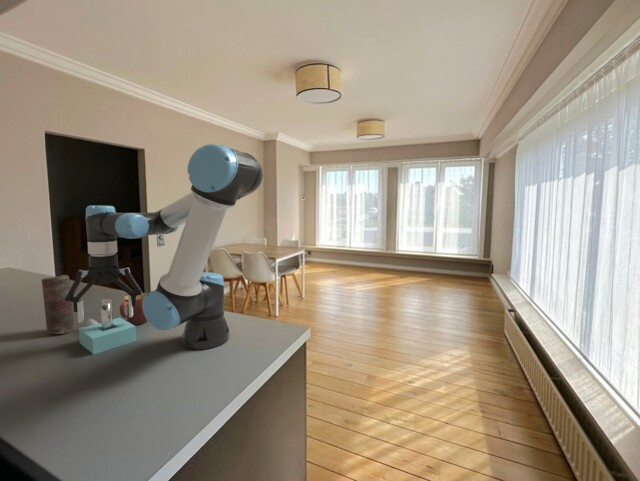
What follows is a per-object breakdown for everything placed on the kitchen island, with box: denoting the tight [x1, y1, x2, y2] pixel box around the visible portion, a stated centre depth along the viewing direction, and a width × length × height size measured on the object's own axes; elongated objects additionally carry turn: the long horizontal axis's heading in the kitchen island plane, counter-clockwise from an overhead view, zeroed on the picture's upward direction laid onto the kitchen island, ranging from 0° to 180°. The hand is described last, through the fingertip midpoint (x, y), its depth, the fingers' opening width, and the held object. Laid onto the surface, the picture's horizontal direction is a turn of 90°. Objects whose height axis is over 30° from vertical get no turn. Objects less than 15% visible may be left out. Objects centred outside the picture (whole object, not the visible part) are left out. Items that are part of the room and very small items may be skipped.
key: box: [99, 298, 114, 331], centre depth 98 cm, size 6×3×14 cm, turn 24°
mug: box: [119, 292, 148, 326], centre depth 113 cm, size 12×9×10 cm
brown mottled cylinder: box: [41, 274, 76, 335], centre depth 104 cm, size 8×7×20 cm
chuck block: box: [78, 317, 137, 355], centre depth 101 cm, size 22×12×5 cm, turn 55°
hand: (107, 318), depth 98 cm, fingers open, 13 cm apart
